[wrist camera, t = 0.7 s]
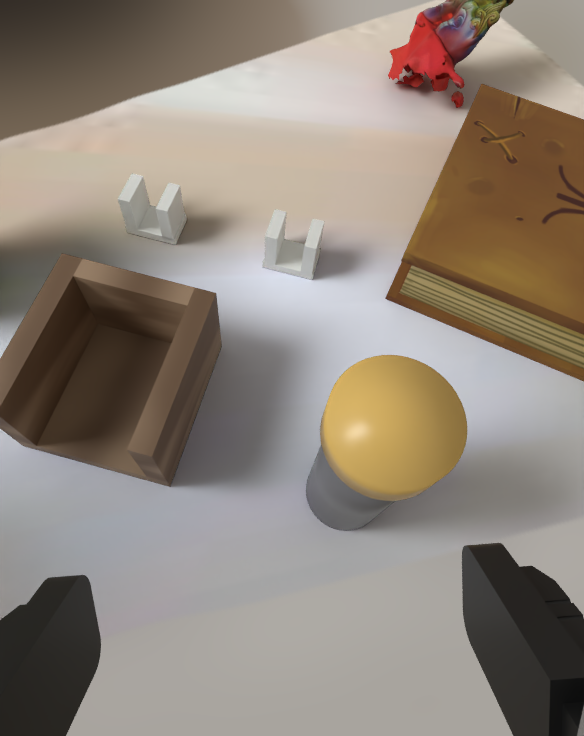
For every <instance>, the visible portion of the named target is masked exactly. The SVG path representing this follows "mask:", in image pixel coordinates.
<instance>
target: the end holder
mask: <svg viewBox="0 0 584 736" xmlns="http://www.w3.org/2000/svg"><path fill="white" fill-rule="evenodd" d="M221 346H222V345H221V335H220V326H219V316H218V307H217V298H216V293H213V292H210V291H206V290H202V289H198V288H194V287H190V286H186V285H182V284H179V283H175V282H171V281H167V280H163V279H159V278H155V277H152V276H148V275H144V274H140V273H136V272H132V271H128V270H125V269H121V268H117V267H113V266H109V265H105V264H101V263H98V262H94V261H90V260H86V259H82V258H78V257H74V256H70V255H67V254H63V253H62V254H61V256H60V257H59V259H58V261H57V263H56V264H55V266H54V268H53V269H52V271H51V273H50V275H49V276H48V278H47V280H46V281H45V283H44V285H43V287H42V288H41V290H40V292H39V293H38V295H37V297H36V299H35V300H34V302H33V304H32V305H31V307H30V309H29V311H28V312H27V314H26V316H25V317H24V319H23V321H22V323H21V324H20V326H19V328H18V329H17V331H16V333H15V334H14V336H13V338H12V340H11V341H10V343H9V345H8V346H7V348H6V350H5V352H4V353H3V355H2V357H1V358H0V429H2V430H3V431H4V432H6V433H7V434H8V435H9V436H11V437H12V438H13V439H15V440H16V441H17V442H19V443H20V444H21V445H23V446H26V447H29V448H33V449H36V450H40V451H43V452H47V453H51V454H54V455H58V456H61V457H65V458H69V459H72V460H76V461H79V462H83V463H87V464H90V465H94V466H97V467H101V468H105V469H108V470H112V471H115V472H119V473H122V474H126V475H130V476H133V477H137V478H140V479H144V480H148V481H151V482H155V483H158V484H162V485H166V486H169V487H170V486H171V483H172V480H173V477H174V475H175V472H176V469H177V466H178V464H179V461H180V458H181V456H182V453H183V450H184V447H185V445H186V442H187V439H188V436H189V434H190V431H191V428H192V426H193V423H194V420H195V417H196V415H197V412H198V409H199V406H200V404H201V401H202V398H203V396H204V393H205V390H206V387H207V385H208V382H209V379H210V376H211V374H212V371H213V368H214V366H215V363H216V360H217V357H218V355H219V352H220V349H221Z"/></svg>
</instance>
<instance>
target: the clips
mask: <svg viewBox="0 0 584 736" xmlns="http://www.w3.org/2000/svg"><path fill="white" fill-rule="evenodd" d="M118 202H119V205H120V208H121V211H122V214H123V217H124V221H125V224H126V226H125V228H126V231H127V233H131V234H134V235H138V236H142V237H146V238H150V239H154V240H158V241H162V242H166V243H170V244H174V245H176V243H177V241H178V238H179V236H180V234H181V232H182V230H183V228H184V225H185V223H186V221H187V217H186V214H185V213H184V206H183V200H182V194H181V188H180V185H176V184H172V183H168V185H167V187H166V189H165V191H164V193H163V195H162V197H161V199H160V201H159V203H158V205H157V207H155V206H151V205H150V202H149V198H148V194H147V190H146V186H145V182H144V178H143V176H140V175H136V174H131V176H130V178H129V179H128V181H127V183H126V185H125V187H124V188H123V190H122V192H121V194H120V196H119V197H118ZM286 213H287V212H284V211H280V210H276V209H275V210H274V213H273V216H272V219H271V221H270V224H269V227H268V230H267V232H266V235H265V253H264V260H263V267H264V268H268V269H272V270H275V271H279V272H283V273H287V274H291V275H295V276H299V277H303V278H307V279H311V280H312V279H313V275H314V272H315V269H316V265H317V262H318V259H319V255H320V251H321V248H320V243H321V238H322V232H323V227H324V221H320V220H316V219H313V220H312V223H311V226H310V229H309V232H308V235H307V239H306V242H305V244H302V243H298V242H294V241H290V240H286V239H284V235H285V224H286Z"/></svg>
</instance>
